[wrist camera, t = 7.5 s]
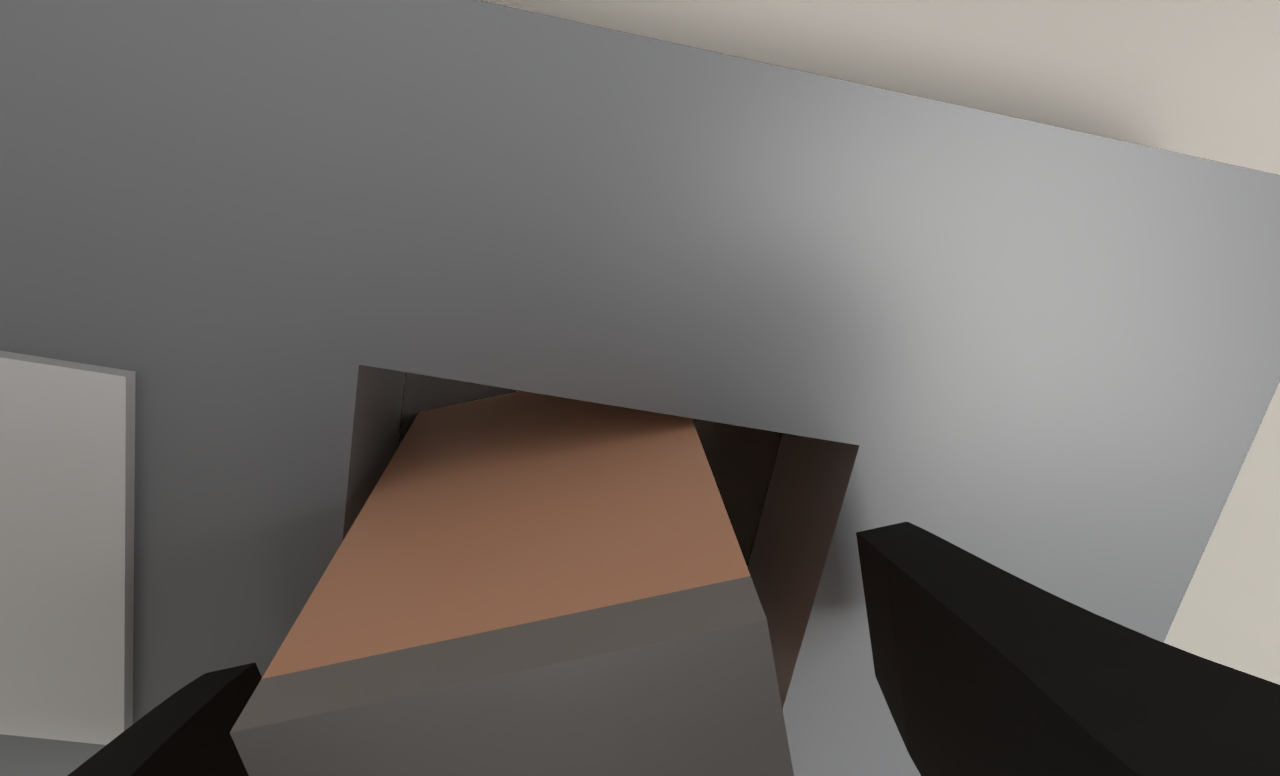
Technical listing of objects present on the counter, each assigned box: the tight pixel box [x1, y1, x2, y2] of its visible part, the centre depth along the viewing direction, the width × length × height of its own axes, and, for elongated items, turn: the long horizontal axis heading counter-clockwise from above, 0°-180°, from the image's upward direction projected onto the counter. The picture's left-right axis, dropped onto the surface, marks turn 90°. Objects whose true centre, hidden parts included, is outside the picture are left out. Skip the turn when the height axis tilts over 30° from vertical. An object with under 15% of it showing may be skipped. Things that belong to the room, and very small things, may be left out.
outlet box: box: [0, 0, 1280, 776], centre depth 12 cm, size 14×16×3 cm
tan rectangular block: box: [230, 391, 794, 776], centre depth 10 cm, size 4×4×7 cm
